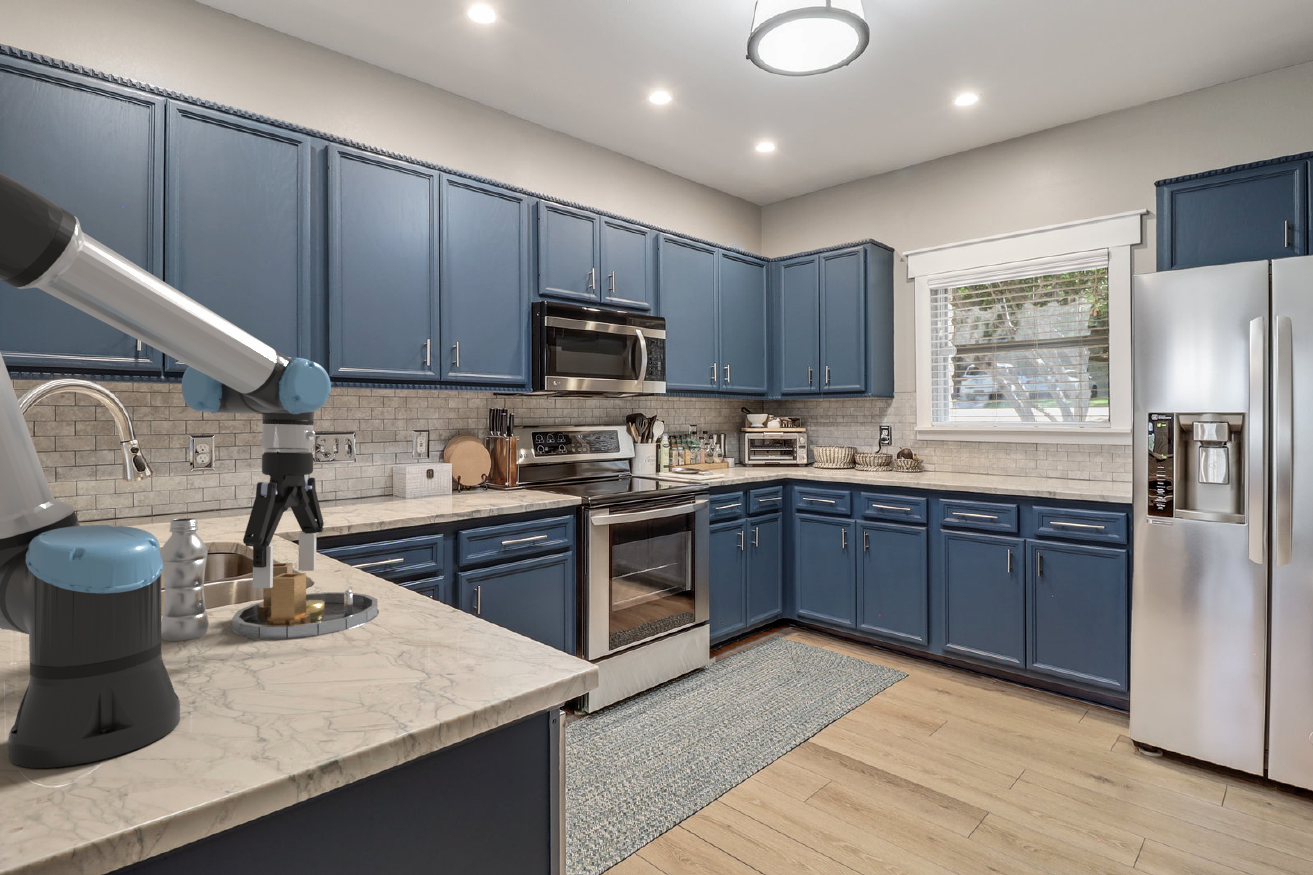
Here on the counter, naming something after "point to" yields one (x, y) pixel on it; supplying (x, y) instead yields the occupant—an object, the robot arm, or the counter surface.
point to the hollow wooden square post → (289, 600)
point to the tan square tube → (265, 607)
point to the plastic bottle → (184, 583)
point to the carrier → (312, 616)
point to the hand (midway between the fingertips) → (286, 578)
